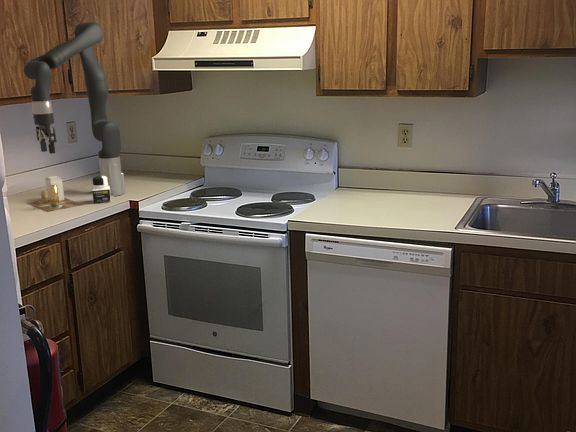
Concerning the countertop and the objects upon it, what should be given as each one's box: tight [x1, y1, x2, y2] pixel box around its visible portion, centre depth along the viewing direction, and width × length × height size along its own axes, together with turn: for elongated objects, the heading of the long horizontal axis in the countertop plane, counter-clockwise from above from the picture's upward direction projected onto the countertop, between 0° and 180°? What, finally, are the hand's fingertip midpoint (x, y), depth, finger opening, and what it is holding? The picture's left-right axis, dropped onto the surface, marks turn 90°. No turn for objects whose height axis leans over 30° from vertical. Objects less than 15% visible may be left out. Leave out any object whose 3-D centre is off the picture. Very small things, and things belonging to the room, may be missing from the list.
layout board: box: [25, 190, 85, 213], centre depth 272 cm, size 16×24×6 cm, turn 41°
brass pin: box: [49, 185, 60, 207], centre depth 266 cm, size 3×3×9 cm
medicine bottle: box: [91, 175, 112, 205], centre depth 273 cm, size 7×7×12 cm
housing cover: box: [44, 175, 65, 201], centre depth 280 cm, size 5×6×10 cm
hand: (48, 152), depth 261 cm, fingers open, 8 cm apart
